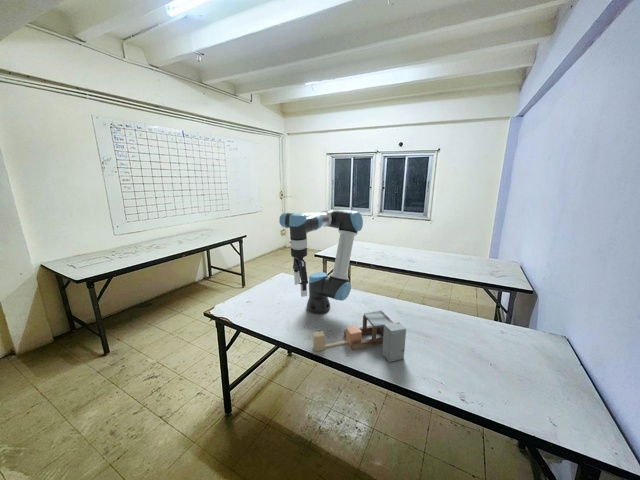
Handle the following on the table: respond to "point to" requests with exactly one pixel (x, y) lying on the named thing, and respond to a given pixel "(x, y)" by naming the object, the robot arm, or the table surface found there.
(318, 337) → the tether block
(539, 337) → the table surface
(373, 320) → the shelf lane
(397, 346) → the skincare box
